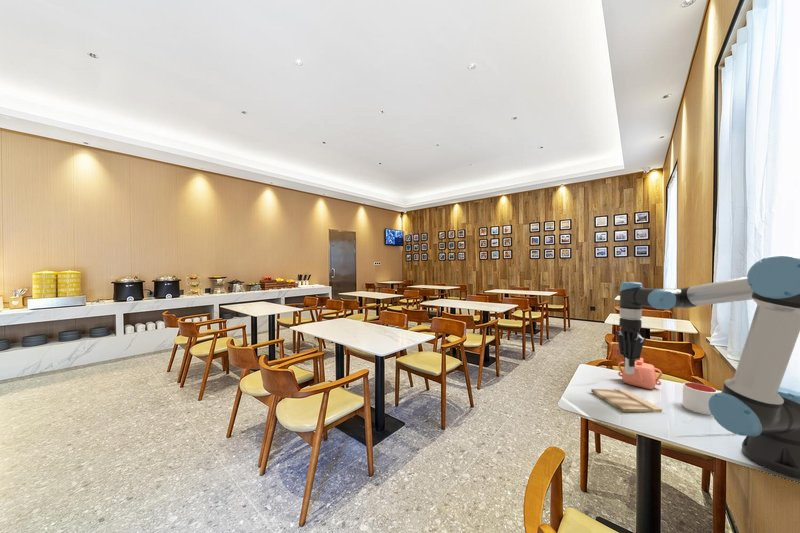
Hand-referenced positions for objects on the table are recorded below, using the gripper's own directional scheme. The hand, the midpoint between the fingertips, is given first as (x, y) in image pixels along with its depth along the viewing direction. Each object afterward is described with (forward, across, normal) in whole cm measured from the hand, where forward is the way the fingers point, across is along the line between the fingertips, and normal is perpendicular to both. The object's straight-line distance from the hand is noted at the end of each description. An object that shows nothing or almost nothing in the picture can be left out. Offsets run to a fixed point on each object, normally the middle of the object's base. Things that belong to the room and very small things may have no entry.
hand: (629, 373), depth 130 cm
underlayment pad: (+14, +1, +2) cm, 14 cm away
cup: (+14, -6, -25) cm, 30 cm away
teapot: (+14, +18, -22) cm, 31 cm away
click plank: (+12, +1, +4) cm, 13 cm away
